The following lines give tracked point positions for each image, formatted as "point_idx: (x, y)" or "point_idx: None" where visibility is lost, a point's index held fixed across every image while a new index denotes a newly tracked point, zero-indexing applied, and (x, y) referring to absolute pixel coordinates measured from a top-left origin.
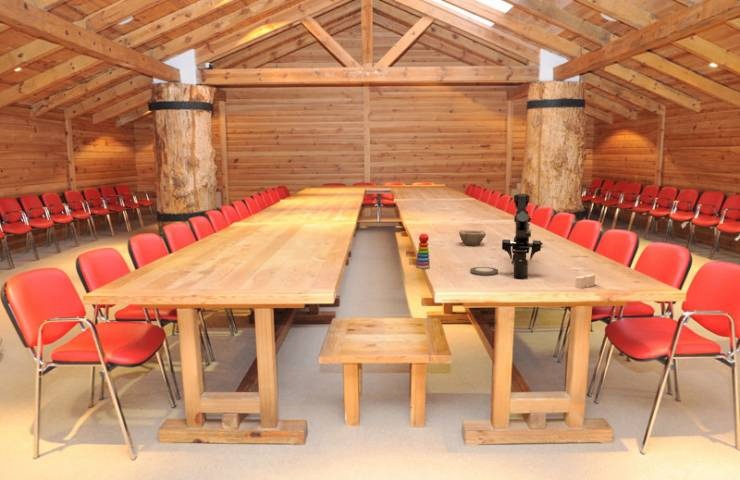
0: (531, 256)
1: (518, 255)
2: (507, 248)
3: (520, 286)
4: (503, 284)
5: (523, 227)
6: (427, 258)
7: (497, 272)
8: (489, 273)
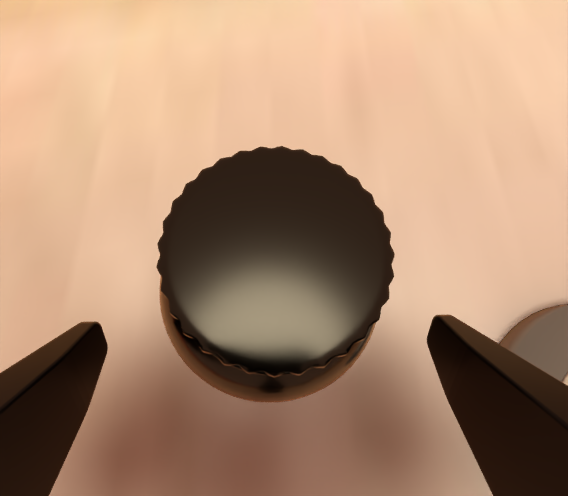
0: (44, 351)
1: (325, 173)
2: None
3: (266, 57)
4: (374, 82)
5: None
6: None
7: None
8: (545, 314)
